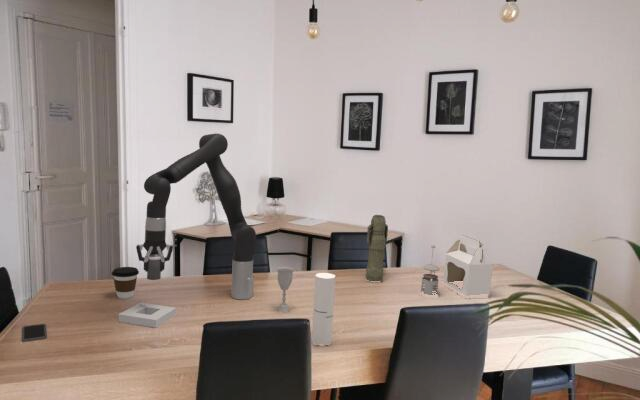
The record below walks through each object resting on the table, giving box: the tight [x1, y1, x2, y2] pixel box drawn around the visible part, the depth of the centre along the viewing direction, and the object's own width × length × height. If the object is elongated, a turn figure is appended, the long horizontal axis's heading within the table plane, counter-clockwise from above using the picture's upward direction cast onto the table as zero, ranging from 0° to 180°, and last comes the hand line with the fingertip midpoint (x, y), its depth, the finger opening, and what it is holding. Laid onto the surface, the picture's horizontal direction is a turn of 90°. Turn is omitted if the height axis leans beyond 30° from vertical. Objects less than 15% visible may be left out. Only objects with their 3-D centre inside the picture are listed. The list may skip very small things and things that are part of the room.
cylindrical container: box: [311, 272, 336, 345], centre depth 173 cm, size 7×7×25 cm
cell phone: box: [21, 323, 48, 343], centre depth 169 cm, size 7×14×1 cm, turn 31°
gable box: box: [442, 234, 493, 296], centre depth 244 cm, size 22×13×28 cm, turn 16°
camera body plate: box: [118, 301, 177, 328], centre depth 187 cm, size 16×14×4 cm
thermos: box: [365, 214, 389, 281], centre depth 254 cm, size 9×12×35 cm
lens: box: [146, 254, 162, 281], centre depth 188 cm, size 5×5×10 cm
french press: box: [420, 245, 441, 295], centre depth 236 cm, size 10×12×25 cm
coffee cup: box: [111, 266, 140, 300], centre depth 209 cm, size 11×11×12 cm
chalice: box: [276, 266, 295, 313], centre depth 204 cm, size 7×7×18 cm
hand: (153, 270), depth 188 cm, fingers closed on lens, 5 cm apart
